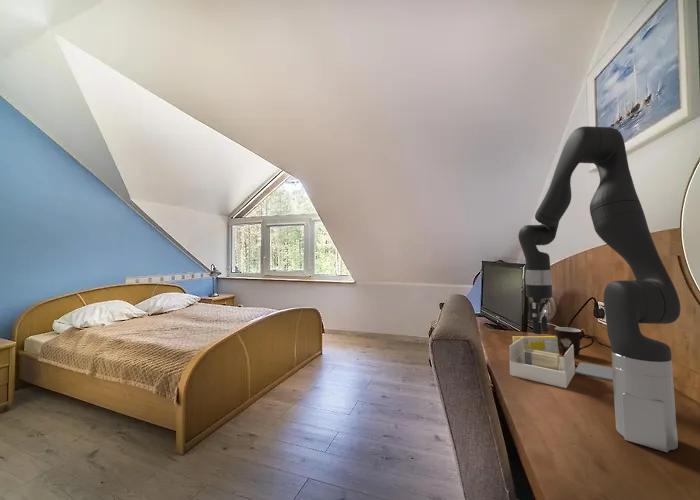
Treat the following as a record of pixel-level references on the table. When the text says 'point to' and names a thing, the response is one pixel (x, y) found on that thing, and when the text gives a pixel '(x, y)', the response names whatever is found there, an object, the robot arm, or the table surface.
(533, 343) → the candy box
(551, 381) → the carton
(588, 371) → the rubber mat
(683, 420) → the table surface
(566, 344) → the coffee mug
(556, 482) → the table surface
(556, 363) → the birch block
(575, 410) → the table surface
